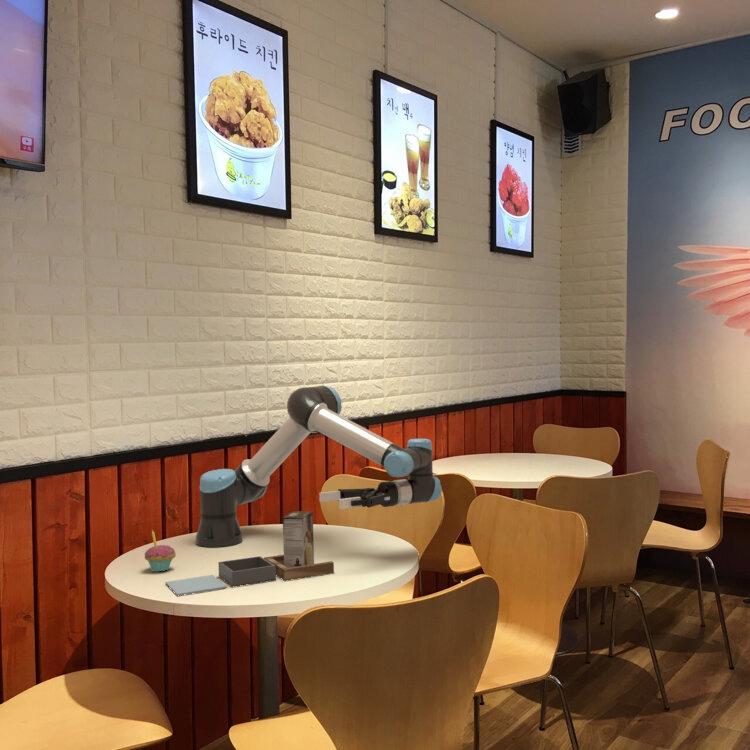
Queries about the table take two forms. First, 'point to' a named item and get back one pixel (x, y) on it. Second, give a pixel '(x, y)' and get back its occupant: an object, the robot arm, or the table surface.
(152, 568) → the cupcake
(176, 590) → the mat
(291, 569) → the walnut slot
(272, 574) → the bin
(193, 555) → the table surface
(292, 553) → the coffee box
